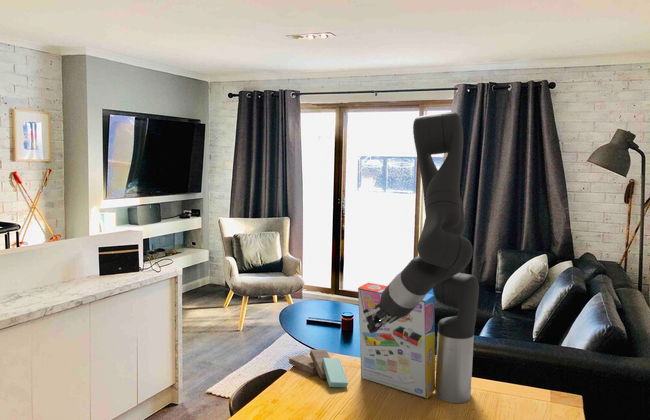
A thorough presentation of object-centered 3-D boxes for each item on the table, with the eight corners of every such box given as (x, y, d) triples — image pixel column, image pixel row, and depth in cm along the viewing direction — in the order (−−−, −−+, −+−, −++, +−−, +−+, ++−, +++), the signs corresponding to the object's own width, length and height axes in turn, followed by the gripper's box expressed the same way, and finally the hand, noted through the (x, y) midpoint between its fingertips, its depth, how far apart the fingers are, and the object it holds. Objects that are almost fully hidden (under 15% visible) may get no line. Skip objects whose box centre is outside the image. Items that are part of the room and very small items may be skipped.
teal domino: (348, 382, 142) (339, 358, 151) (330, 382, 140) (323, 357, 149) (346, 387, 142) (338, 363, 151) (329, 386, 141) (321, 362, 150)
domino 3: (338, 373, 148) (326, 349, 156) (322, 374, 145) (311, 349, 154) (336, 378, 148) (324, 354, 156) (320, 378, 146) (309, 353, 154)
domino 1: (324, 363, 152) (301, 353, 159) (312, 368, 149) (289, 358, 156) (324, 368, 153) (301, 358, 159) (312, 373, 149) (289, 363, 156)
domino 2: (324, 370, 152) (305, 358, 160) (309, 374, 149) (291, 361, 157) (324, 375, 152) (305, 363, 160) (309, 379, 149) (291, 367, 157)
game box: (436, 390, 141) (436, 294, 135) (427, 400, 136) (427, 301, 131) (369, 370, 153) (367, 281, 148) (359, 378, 148) (357, 287, 143)
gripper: (420, 274, 119) (386, 311, 131) (373, 281, 113) (342, 319, 125) (435, 303, 115) (399, 338, 127) (387, 312, 109) (353, 348, 121)
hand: (370, 329), depth 126 cm, fingers closed
